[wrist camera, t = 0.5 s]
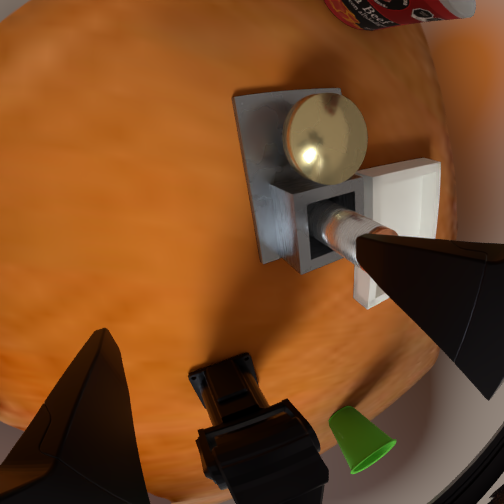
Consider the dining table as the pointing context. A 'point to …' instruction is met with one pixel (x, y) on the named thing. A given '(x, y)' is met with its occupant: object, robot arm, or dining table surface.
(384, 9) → the canned food
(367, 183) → the tray
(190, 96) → the dining table surface
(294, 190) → the plate
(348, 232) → the pin
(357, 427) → the cup
